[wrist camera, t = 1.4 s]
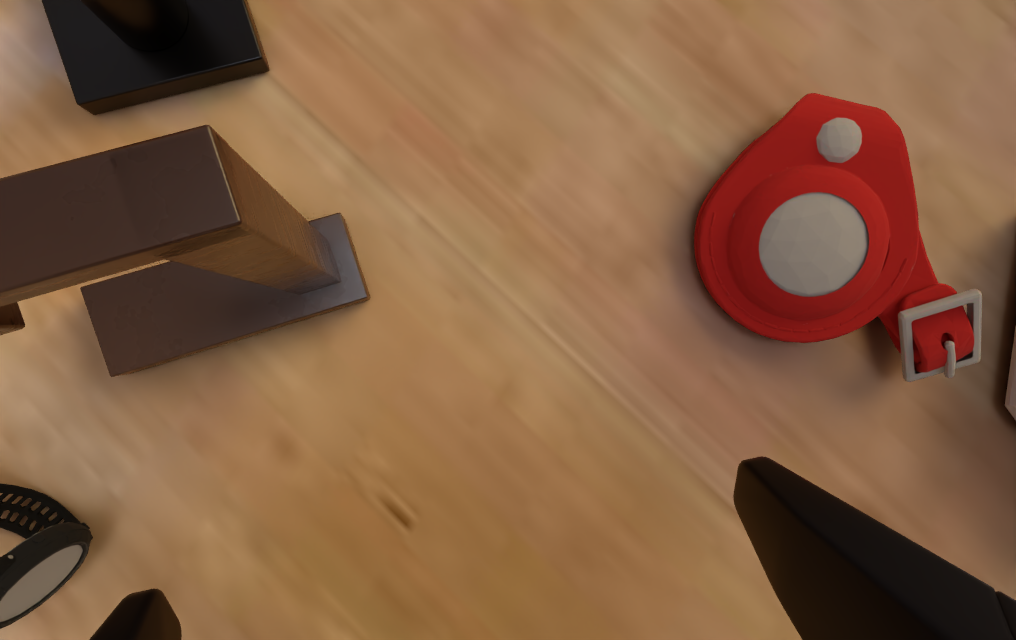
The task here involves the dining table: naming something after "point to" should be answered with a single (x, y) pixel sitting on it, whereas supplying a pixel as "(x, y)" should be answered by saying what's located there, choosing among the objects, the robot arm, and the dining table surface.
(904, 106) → the dining table surface
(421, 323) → the dining table surface
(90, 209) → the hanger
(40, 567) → the smartwatch
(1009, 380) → the charger
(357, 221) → the dining table surface
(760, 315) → the tracker holder
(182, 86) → the coat rack
